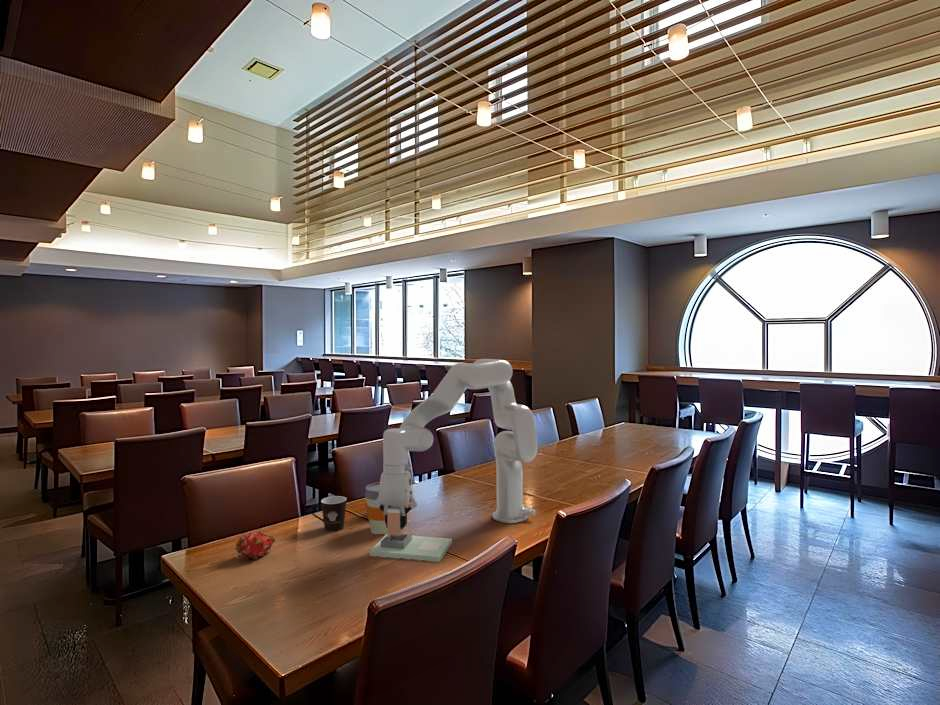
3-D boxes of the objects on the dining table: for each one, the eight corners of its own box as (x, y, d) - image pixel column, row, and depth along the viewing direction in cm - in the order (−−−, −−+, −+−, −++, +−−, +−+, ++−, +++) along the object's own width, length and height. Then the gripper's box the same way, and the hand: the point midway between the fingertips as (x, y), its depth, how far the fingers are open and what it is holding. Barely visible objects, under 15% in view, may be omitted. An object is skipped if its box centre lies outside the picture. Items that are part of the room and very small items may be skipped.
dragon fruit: (231, 567, 149) (271, 561, 157) (241, 557, 144) (282, 551, 153) (228, 539, 153) (268, 534, 161) (239, 528, 149) (278, 524, 157)
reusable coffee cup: (371, 539, 166) (370, 493, 165) (361, 527, 177) (360, 484, 176) (407, 532, 171) (406, 488, 171) (395, 520, 182) (394, 479, 182)
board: (451, 543, 162) (451, 533, 162) (439, 562, 148) (439, 550, 148) (387, 538, 166) (387, 528, 166) (369, 555, 153) (369, 545, 153)
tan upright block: (404, 531, 159) (404, 506, 159) (399, 535, 156) (399, 510, 155) (392, 530, 160) (392, 505, 160) (387, 534, 156) (387, 509, 156)
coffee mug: (351, 525, 178) (351, 497, 178) (337, 534, 170) (337, 504, 170) (323, 521, 182) (323, 494, 182) (308, 530, 174) (308, 501, 174)
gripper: (424, 467, 160) (425, 524, 160) (375, 464, 163) (375, 520, 163) (417, 473, 152) (417, 533, 152) (365, 470, 156) (366, 529, 156)
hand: (395, 526), depth 158 cm, fingers closed on tan upright block, 4 cm apart
